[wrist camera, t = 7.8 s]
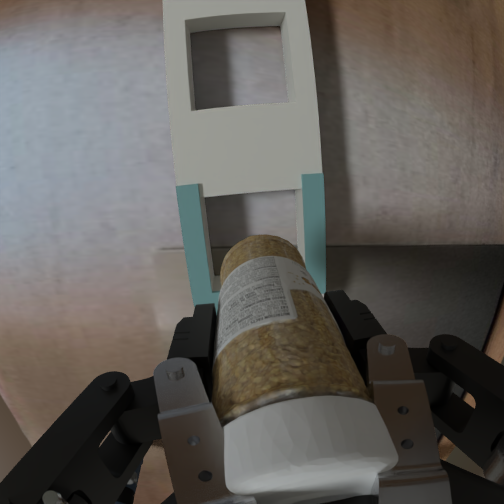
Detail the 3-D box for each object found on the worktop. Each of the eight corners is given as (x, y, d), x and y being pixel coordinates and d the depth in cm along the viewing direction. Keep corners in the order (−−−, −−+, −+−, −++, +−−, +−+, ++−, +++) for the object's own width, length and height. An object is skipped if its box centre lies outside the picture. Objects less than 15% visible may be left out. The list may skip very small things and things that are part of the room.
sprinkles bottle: (315, 290, 18) (423, 512, 5) (241, 322, 18) (255, 562, 5) (285, 216, 16) (418, 431, 4) (203, 253, 17) (146, 507, 4)
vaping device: (127, 441, 34) (107, 516, 22) (128, 417, 32) (103, 499, 21) (147, 446, 34) (130, 523, 23) (149, 423, 32) (130, 507, 21)
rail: (278, -93, 16) (282, -112, 13) (316, 287, 28) (325, 305, 25) (170, -85, 16) (164, -104, 12) (200, 298, 27) (196, 317, 24)
